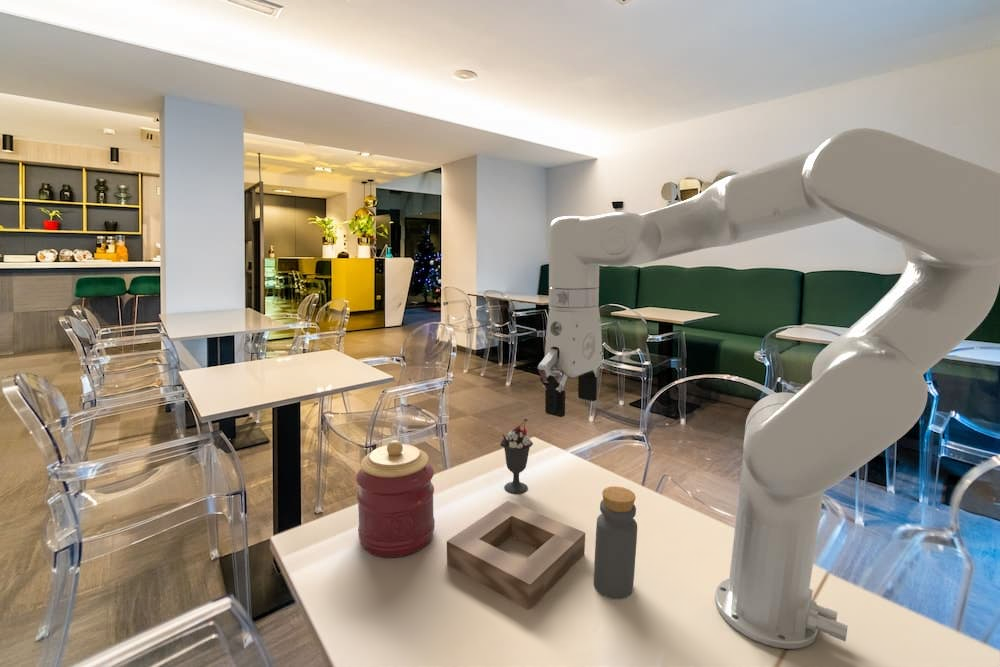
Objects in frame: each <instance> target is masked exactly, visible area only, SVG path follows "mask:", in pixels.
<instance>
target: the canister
mask: <svg viewBox="0 0 1000 667" xmlns="http://www.w3.org/2000/svg"><path fill="white" fill-rule="evenodd" d="M429 459H430V457H429V455H428V454H427V453H426V452H425V451H424V450H422V449H419V448H418V447H416V446H414V445H412V444H406V443H402V442H401V441H400V440H398V439H393V440H390V441H389V442H388V444H386V445H383V446H379V447H376V448H374V450H371V452H369V453H368V454H366V455H365V456H364V457H363V458H362V459H361V462H360V469H358V472H357V473H356V475H355V481H356V483H357V485H358V486H359V489H358V491H357V494H356V500H357V504H358V505H357V506H358V507H357V508H358V526H357V528H358V529H357V530H358V531H357V532H358V539H359V542H360V545H361V547H362V548H363V550H364V551H366V552H368V553H369V554H371V555H374V556H377V557H382V558H400V557H406V556H408V555H411V554H414V553H416V552H419V551H420V550H422V549H423V548H425V547H426V546H427V545H428V544H429V543H430V542H431V540H432V539H433V536H434V531H435V525H436V524H435V516H434V492H435V487H434V485H433V483H432V479H433V477H434V474H435V469H434V467H433V466H432V464H431V463H430V462H429Z"/></svg>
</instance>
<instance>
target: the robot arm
mask: <svg viewBox="0 0 1000 667" xmlns="http://www.w3.org/2000/svg"><path fill="white" fill-rule="evenodd" d="M843 218H847V219H849V220H851V221H853V222H855V223H858V224H860V225H862V226H864V227H866V228H867V229H870V230H872V231H874V232H876V233H878V234H880V235H883V236H885V237H887V238H890V239H892V240H895V241H897V242H899V243H900V244H901V246H902V249H903V251H904V257H905V260H904V267H903V271H902V273H901V275H900V276H899V279H898V280H897V281H896V282H895V284H894V286H892V288H891V289H890V290H889V291H888V292H887V293H886V294H885V295H883V297H882V298H881V299H880V300H879V301H877V303H876V304H875V305H874V306H873V307H872V308H871V309H870V310H868V311H867V312H866V313H865V314H864V315H862V316H861V317H860V318H859V319H858V320H857V321H856V322H855V323H853V324H852V325H851V326H850V327H849V328H848V329H846V330H845V331H844V332H843V333H842V334H841V335H839V336H838V337H837V338H835V339H834V340H833V341H832V342H831V343H829V344H827V346H825V347H824V348H823V349H822V350H821V351H820V352H819V353H818V355H816V357H815V359H814V361H813V364H812V369H811V379H810V381H809V382H807V383H806V384H805V385H804V386H803V387H802V388H801V389H800V390H798V391H797V392H796V393H794V392H786V391H785V392H783V391H782V392H775V393H771V394H769V395H766V396H764V397H763V398H761V399H759V400H758V401H757V402H756V403H755V404H754V405H753V406H752V407H751V409H750V411H749V413H748V415H747V418H746V421H745V428H744V438H743V449H742V451H743V454H742V462H741V471H740V472H741V473H740V480H739V488H738V489H739V490H738V499H737V506H736V515H735V524H734V534H733V542H732V550H731V551H732V552H731V560H730V571H729V578H727V579H725V580H723V581H721V582H720V583H719V584H718V585H717V587H716V590H715V595H714V596H715V597H714V598H715V604H716V608H717V610H718V612H719V613H720V615H721V617H723V618H724V620H725V621H726V622H727V623H728V624H729V625H730V626H732V628H734V629H735V630H737V631H738V632H740V633H741V634H743V635H744V636H746V637H748V638H749V639H751V640H754V641H756V642H758V643H761V644H764V645H766V646H770V647H773V648H780V649H785V650H786V649H789V650H790V649H791V650H792V649H793V650H794V649H802V648H805V647H808V646H810V645H811V644H812V643H814V642H815V641H816V638H817V636H818V631H820V632H822V633H825V634H828V635H829V636H831V637H833V638H836V639H838V640H841V641H843V642H846V641H847V634H848V625H847V624H845V623H842V622H840V621H837V618H838V611H835V610H833V609H830V608H829V607H824V606H821V605H819V604H818V603H817V602H816V601H814V600H812V599H813V594H814V593H813V592H814V590H813V589H812V588H810V586H811V582H812V574H813V566H814V559H815V552H816V546H817V539H818V532H819V525H820V520H821V513H822V505H823V500H824V499H823V498H824V492H826V491H829V490H830V489H831V488H833V487H835V486H836V485H838V484H839V483H841V482H842V481H844V480H845V479H846V478H847V477H849V476H851V475H852V474H853V473H855V472H856V471H858V470H859V469H860V468H861V467H863V466H864V465H865V464H867V463H868V462H870V461H871V460H873V459H875V457H877V456H878V455H880V454H882V452H883V451H885V450H886V449H887V448H889V447H890V446H891V445H893V444H894V443H895V442H897V441H898V440H899V439H901V438H902V437H904V436H905V435H906V434H907V433H908V432H909V431H910V430H911V429H912V428H913V427H914V426H915V424H916V423H917V422H918V421H919V419H920V418H921V416H922V415H923V413H924V410H925V408H926V405H927V402H928V396H929V395H928V385H927V382H926V379H925V378H924V374H926V373H927V372H928V371H929V370H930V369H931V368H932V367H934V366H935V365H936V364H938V363H939V362H940V361H941V360H942V359H944V358H945V357H946V356H948V354H949V353H950V352H951V351H952V350H954V349H955V348H956V347H957V346H959V345H960V344H961V343H962V342H963V341H965V339H967V337H969V336H970V335H971V334H972V333H973V332H974V331H975V330H976V329H977V328H978V327H979V326H980V325H981V323H983V321H984V320H985V319H986V317H988V314H989V313H990V311H991V310H992V308H993V306H994V304H995V301H996V299H997V296H998V293H999V288H1000V172H997V171H995V170H992V169H990V168H986V167H984V166H981V165H978V164H976V163H973V162H971V161H967V160H965V159H963V158H960V157H959V158H958V157H956V156H954V155H950V154H948V153H946V152H942V151H940V150H937V149H936V148H935V149H934V148H932V147H929V146H927V145H924V144H922V143H918V142H916V141H913V140H911V139H908V138H905V137H902V136H900V135H897V134H895V133H894V134H893V133H890V132H887V131H884V130H881V129H877V128H875V129H874V128H869V127H868V128H866V127H861V128H852V129H848V130H844V131H841V132H839V133H837V134H834V135H832V136H831V137H830V138H828V139H827V140H824V142H822V144H820V145H819V146H818V147H817V149H814V150H811V151H807V152H804V153H801V154H797V155H794V156H792V157H789V158H785V159H783V160H782V159H781V160H779V161H776V162H773V163H769V164H765V165H762V166H758V167H756V168H752V169H748V170H746V171H742V172H738V173H736V174H735V173H734V174H732V175H729V176H726V177H723V178H722V179H720V180H717V181H716V182H714V183H713V184H712V185H710V186H708V188H706V189H705V190H703V191H702V192H700V193H698V194H696V195H694V196H693V197H691V198H688V199H686V200H683V201H680V202H677V203H674V204H671V205H668V206H666V207H662V208H659V209H654V210H650V211H647V212H645V213H644V212H643V213H640V214H638V213H633V212H629V211H628V212H626V211H617V212H615V211H614V212H610V213H605V214H601V215H594V216H588V215H587V216H586V215H569V216H568V215H567V216H559V217H556V218H554V219H553V220H552V221H551V222H550V225H549V231H548V232H549V233H548V234H549V235H548V236H549V237H548V238H549V239H548V240H549V241H548V242H549V243H548V244H549V245H548V246H549V247H548V257H549V258H548V316H547V317H548V318H547V325H546V333H545V345H544V346H545V347H544V348H545V349H544V350H545V351H544V353H545V354H544V357H543V359H542V360H541V361H540V362H539V364H538V365H537V369H538V373H539V376H540V382H541V383H542V387H543V388H542V389H543V390H545V396H544V397H545V400H544V401H545V403H544V404H545V413H546V414H547V415H552V416H555V417H559V418H563V417H565V416H566V390H563V389H564V388H565V384H566V382H567V379H568V377H570V378H577V377H578V378H577V380H578V381H577V382H578V385H577V387H578V388H577V390H578V391H577V393H578V394H577V397H578V398H579V399H581V400H586V401H590V402H595V401H597V397H598V396H597V395H598V377H599V374H600V372H599V371H600V370H599V367H600V366H601V365H602V362H603V359H602V358H603V344H602V340H603V339H602V324H601V316H600V315H601V314H600V308H599V302H600V301H599V299H600V298H599V293H600V288H599V287H600V265H602V266H608V267H612V268H613V267H614V268H615V267H616V268H623V267H624V268H625V267H631V266H638V265H639V266H640V265H643V264H648V263H651V262H655V261H660V260H664V259H667V258H671V257H675V256H679V255H680V256H681V255H685V254H688V253H691V252H695V251H697V252H698V251H701V250H704V249H710V248H717V247H726V246H727V247H728V246H731V245H735V244H739V243H743V242H748V241H753V240H756V239H759V238H764V237H765V238H766V237H768V236H773V235H777V234H780V233H785V232H789V231H793V230H796V229H802V228H806V227H810V226H815V225H818V224H822V223H827V222H832V221H835V220H838V219H843ZM555 377H558V380H557V379H556V378H555Z"/></svg>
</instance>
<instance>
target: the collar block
mask: <svg viewBox="0 0 1000 667" xmlns="http://www.w3.org/2000/svg"><path fill="white" fill-rule="evenodd" d="M510 538H513V539H516V540H517V541H519V542H522V543H524V544H527V545H528V546H530V547H533V548H535V549H536V550H535V551H533V553H532V554H530V555H529V556H528V557H527V558H526V559H525V560H523V559H520V558H518V557H515V556H514V555H512V554H510V553H508V552H506V551H504V550H502V549H500V548H499V547H500V546H501V545H502V544H504V543H506V541H508V540H509V539H510ZM585 546H586V532H585V531H583V530H580V529H577V528H576V527H573V526H570V525H568V524H565V523H563V522H560V521H558V520H556V519H553V518H551V517H548V516H546V515H544V514H541V513H539V512H536V511H534V510H532V509H530V508H527V507H524V506H522V505H520V504H517V503H515V502H513V501H509V500H507V501H505V502H504V503H502V504H501V505H499V506H497V507H496V508H494V509H493V510H491V511H490V512H488V513H486V515H483V516H482V517H481V518H480V519H478V520H476V521H475V522H474V523H472V524H470V525H469V526H467V527H466V528H464V529H463V530H462V531H460V532H458V533H457V534H455V535H453V536H452V537H451V538H450V539H449V538H448V540H446V564H447V565H448V566H450V567H451V568H454V569H455V570H457V571H459V572H461V573H463V574H464V575H467V576H468V577H470V578H472V579H474V580H475V581H476V582H479V583H480V584H482V585H484V586H485V587H487V588H489V589H491V590H493V591H495V592H496V593H499V594H500V595H502V596H504V597H506V598H507V599H509V600H511V602H512V601H513V602H514V603H516V604H519V606H521V607H523V608H525V609H527V610H529V611H530V610H531V609H532V608H533V607H534V606H535V605H536V604H538V602H539V601H540V600H541V599H542V598H544V596H545V595H546V594H547V593H548V592H549V591H550V590H551V589H552V588H553V587H554V586H555V585H556V584H557V583H558V582H559V581H560V580H561V579H562V578H563V577H564V576H565V575H566V574H567V573H568V572H569V571H570V570H571V569H572V568H573V567H574V565H576V564H577V563H578V562H579V561H580V560H581V559H582V558H583V557H584V556H585V550H586V549H585V548H586V547H585Z"/></svg>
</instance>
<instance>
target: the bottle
mask: <svg viewBox="0 0 1000 667" xmlns="http://www.w3.org/2000/svg"><path fill="white" fill-rule="evenodd" d="M601 493H602V494H601V495H602V500H601V501H600V506H599V510H600V512H601V514H599V515H598V516H597V518H596V526H595V527H596V528H595V546H594V562H593V563H594V564H593V565H594V566H593V586H594V588H595V590H596V592H598V593H599V594H600V595H601V596H604V597H605V598H608V599H609V598H610V599H611V600H613V599H614V600H622V599H623V600H624V599H626V598H628V597H630V596H631V595H632V593H633V590H634V581H635V568H636V555H637V554H636V553H637V543H638V542H637V540H638V538H637V537H638V522H637V521H636V519H635V517H636V515H637V513H636V512H637V507H636V505H635V501H636V494H635V492H633V491H632V490H631V489H628V488H627V487H624V486H623V487H622V486H616V485H615V486H608V487H606V488H604V489H603V490H602V491H601Z"/></svg>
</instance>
